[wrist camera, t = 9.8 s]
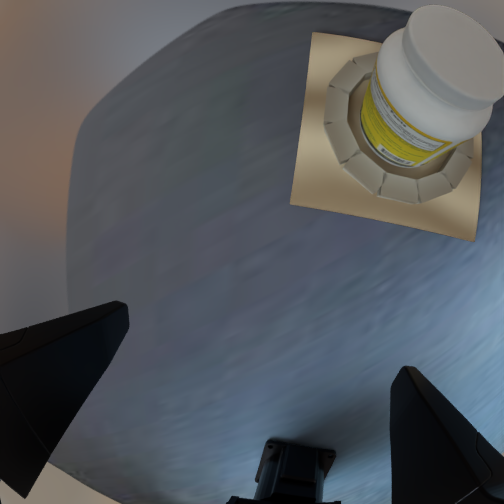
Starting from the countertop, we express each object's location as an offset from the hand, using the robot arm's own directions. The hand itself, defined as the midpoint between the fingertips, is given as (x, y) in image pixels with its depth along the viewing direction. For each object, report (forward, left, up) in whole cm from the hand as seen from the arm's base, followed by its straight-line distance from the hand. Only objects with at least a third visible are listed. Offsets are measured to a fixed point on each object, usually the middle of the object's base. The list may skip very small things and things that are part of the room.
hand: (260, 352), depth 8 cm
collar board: (+12, -6, -13) cm, 18 cm away
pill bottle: (+12, -6, -12) cm, 18 cm away
